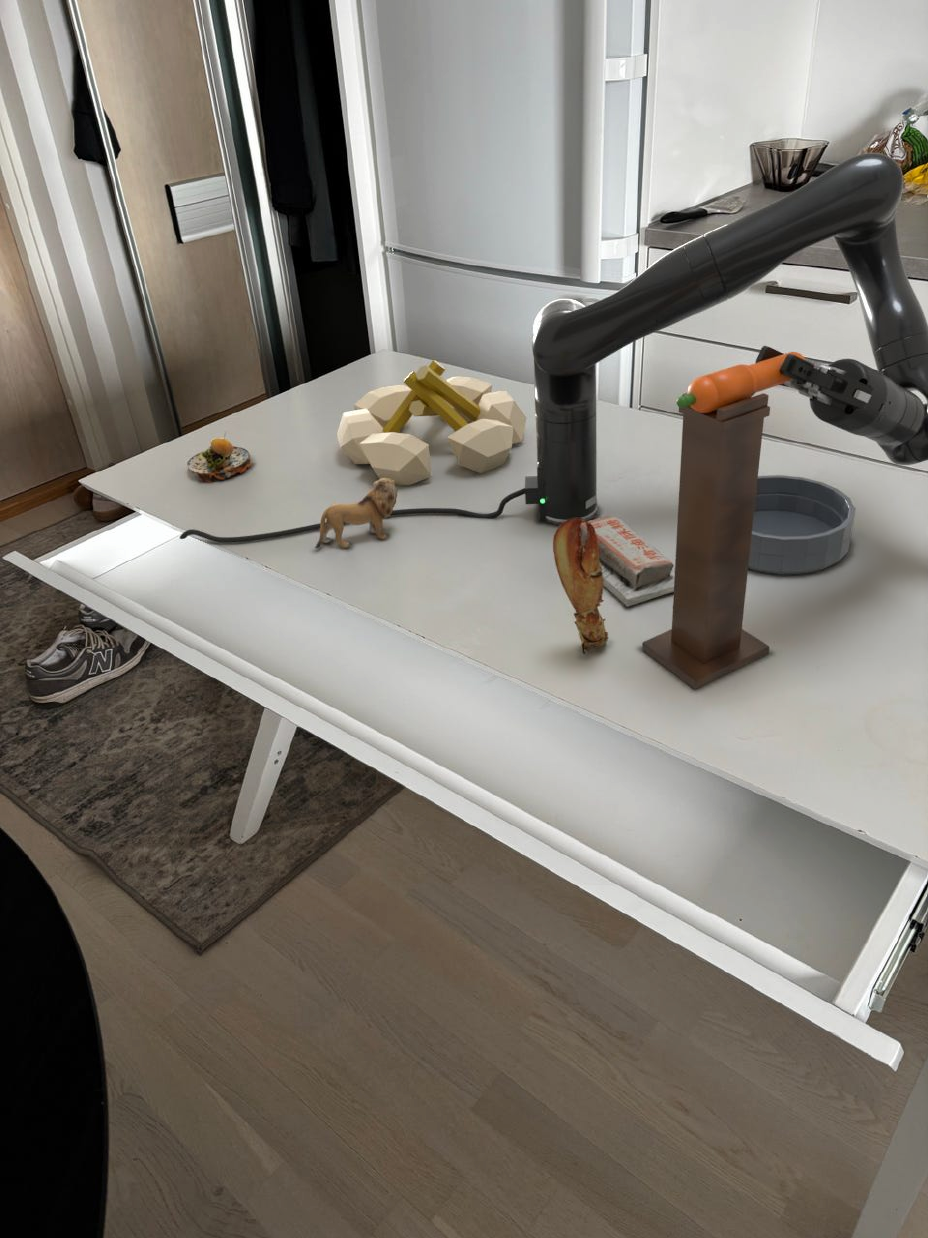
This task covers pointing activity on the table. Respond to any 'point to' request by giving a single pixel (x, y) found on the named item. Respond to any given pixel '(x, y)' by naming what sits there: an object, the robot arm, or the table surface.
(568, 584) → the crab claw
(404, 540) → the table surface
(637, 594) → the packaged product
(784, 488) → the bowl
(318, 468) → the table surface
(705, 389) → the carrot
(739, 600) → the stand
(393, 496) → the lion figurine
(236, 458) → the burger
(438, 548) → the table surface
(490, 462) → the campfire
